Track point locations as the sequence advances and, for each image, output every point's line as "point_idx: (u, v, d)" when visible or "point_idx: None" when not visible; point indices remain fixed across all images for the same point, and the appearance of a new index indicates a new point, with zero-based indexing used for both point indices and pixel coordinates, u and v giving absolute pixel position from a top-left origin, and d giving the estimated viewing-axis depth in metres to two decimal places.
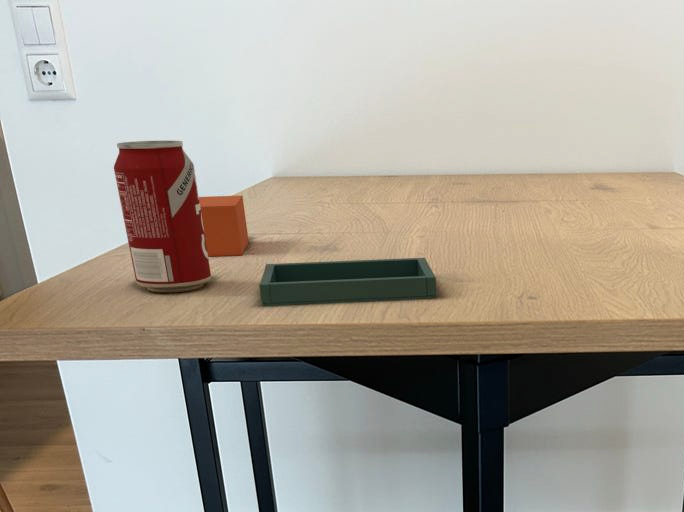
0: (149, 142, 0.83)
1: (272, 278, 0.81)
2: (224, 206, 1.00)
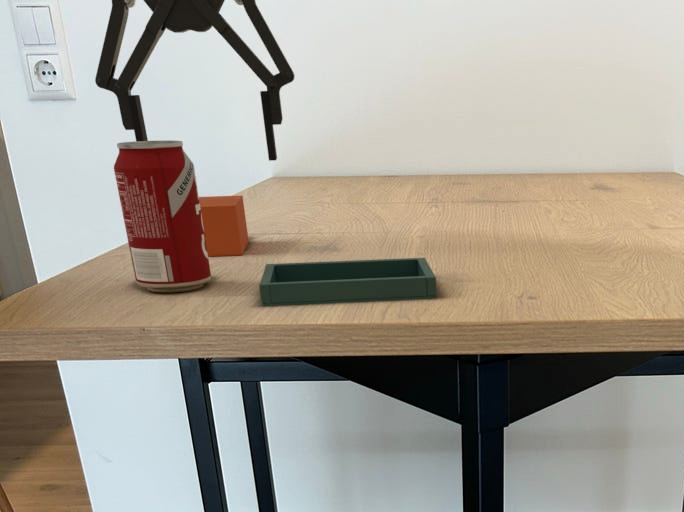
0: (149, 142, 0.83)
1: (272, 278, 0.81)
2: (224, 206, 1.00)
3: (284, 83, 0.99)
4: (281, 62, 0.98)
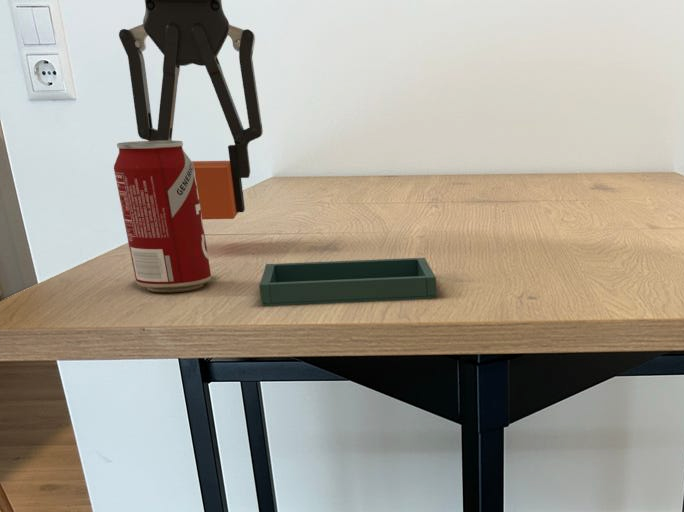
0: (149, 142, 0.83)
1: (272, 278, 0.81)
2: (216, 168, 0.98)
3: (252, 138, 1.01)
4: (254, 117, 1.00)
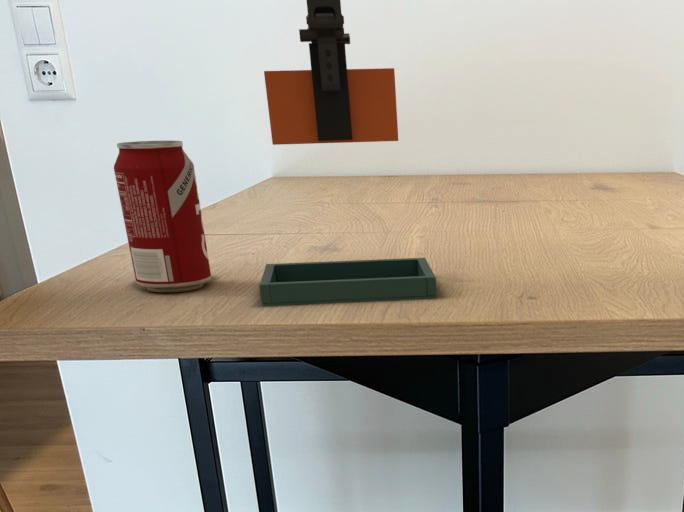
0: (149, 142, 0.83)
1: (272, 278, 0.81)
2: None
3: None
4: None
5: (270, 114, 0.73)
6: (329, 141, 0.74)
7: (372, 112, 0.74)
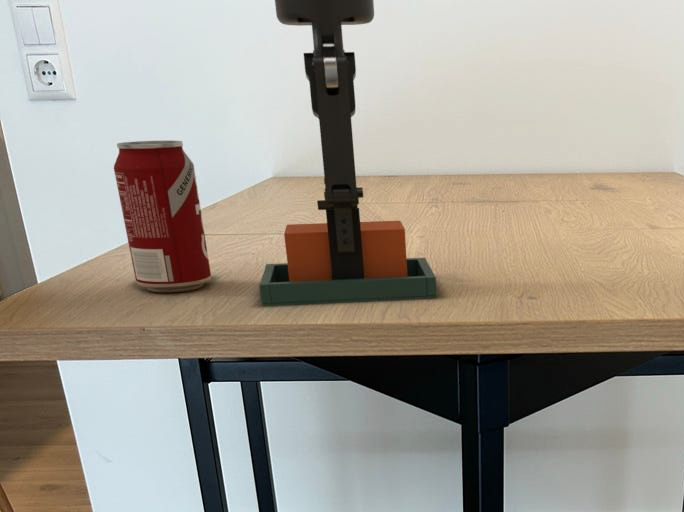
0: (149, 142, 0.83)
1: (272, 278, 0.81)
2: (400, 223, 0.82)
3: None
4: None
5: (289, 270, 0.79)
6: None
7: (383, 267, 0.80)
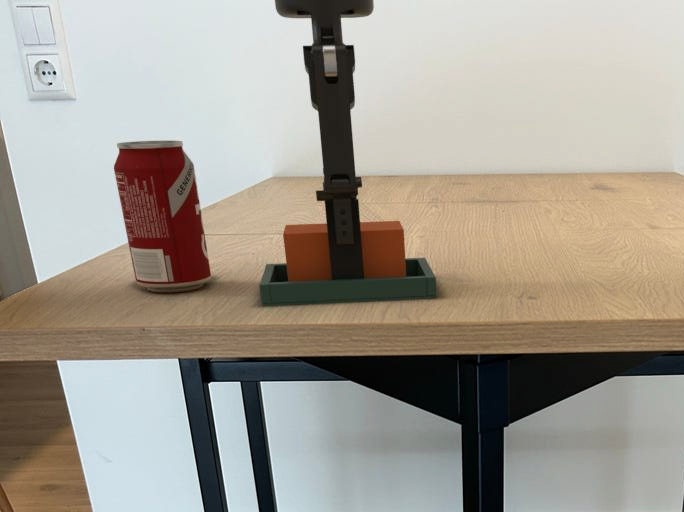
0: (149, 142, 0.83)
1: (272, 278, 0.81)
2: (399, 223, 0.82)
3: None
4: None
5: (288, 270, 0.79)
6: None
7: (382, 267, 0.80)
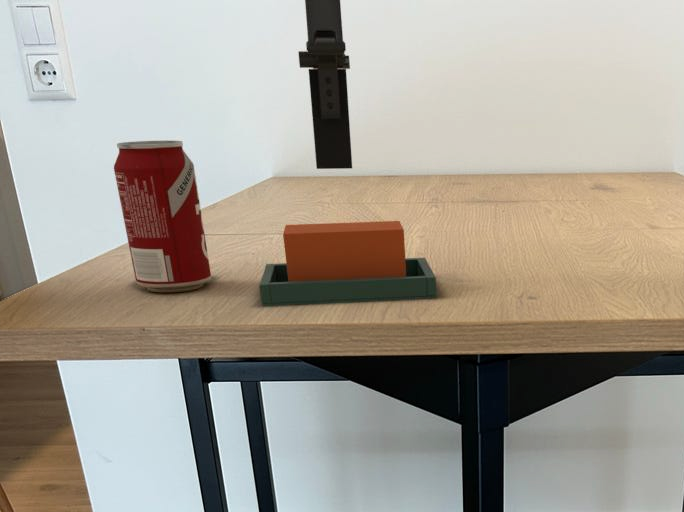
0: (149, 142, 0.83)
1: (272, 278, 0.81)
2: (399, 223, 0.82)
3: None
4: None
5: (288, 270, 0.79)
6: None
7: (382, 267, 0.80)
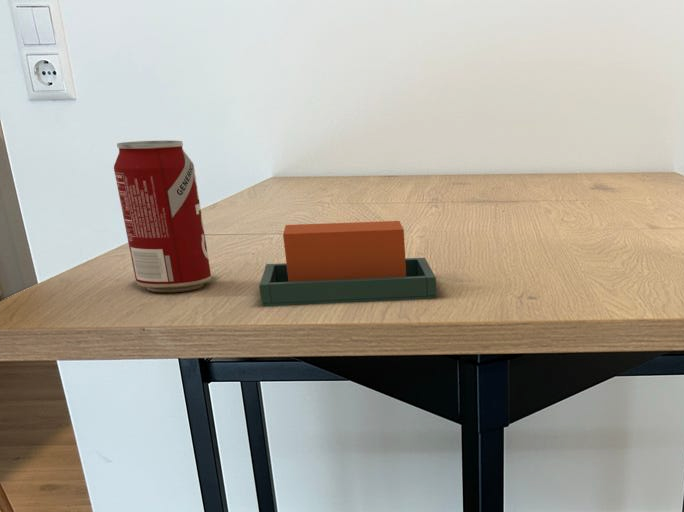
0: (149, 142, 0.83)
1: (272, 278, 0.81)
2: (399, 223, 0.82)
3: None
4: None
5: (288, 270, 0.79)
6: None
7: (382, 267, 0.80)
